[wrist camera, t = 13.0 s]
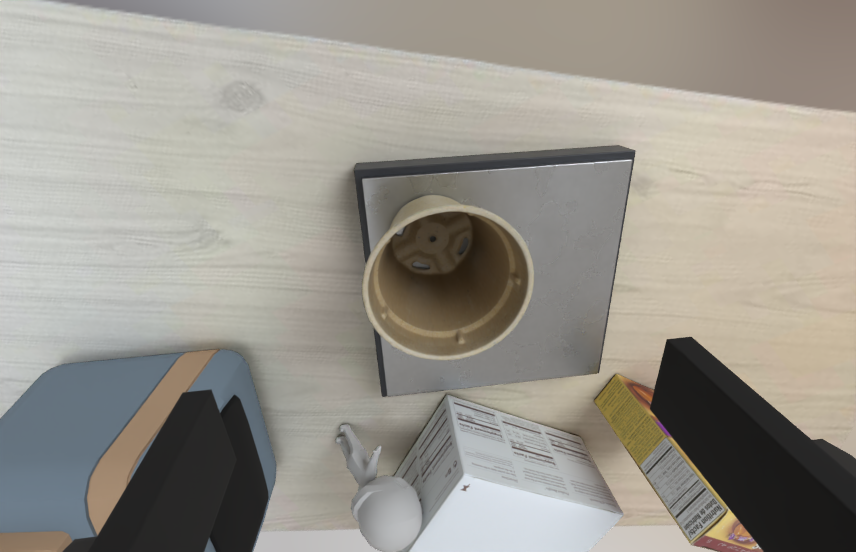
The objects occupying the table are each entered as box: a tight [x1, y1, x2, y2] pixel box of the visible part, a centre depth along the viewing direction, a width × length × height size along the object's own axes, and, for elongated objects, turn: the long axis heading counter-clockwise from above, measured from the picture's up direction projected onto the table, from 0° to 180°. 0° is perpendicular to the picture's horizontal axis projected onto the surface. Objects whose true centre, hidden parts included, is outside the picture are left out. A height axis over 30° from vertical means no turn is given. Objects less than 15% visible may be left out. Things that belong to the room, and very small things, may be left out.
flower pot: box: [362, 195, 534, 360], centre depth 27 cm, size 9×9×9 cm
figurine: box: [336, 424, 422, 552], centre depth 38 cm, size 8×5×12 cm
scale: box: [354, 145, 635, 397], centre depth 35 cm, size 20×20×3 cm
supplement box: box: [394, 395, 623, 552], centre depth 41 cm, size 17×13×9 cm
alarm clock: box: [0, 349, 276, 552], centre depth 32 cm, size 16×16×16 cm
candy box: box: [594, 374, 763, 552], centre depth 37 cm, size 9×4×15 cm, turn 62°
